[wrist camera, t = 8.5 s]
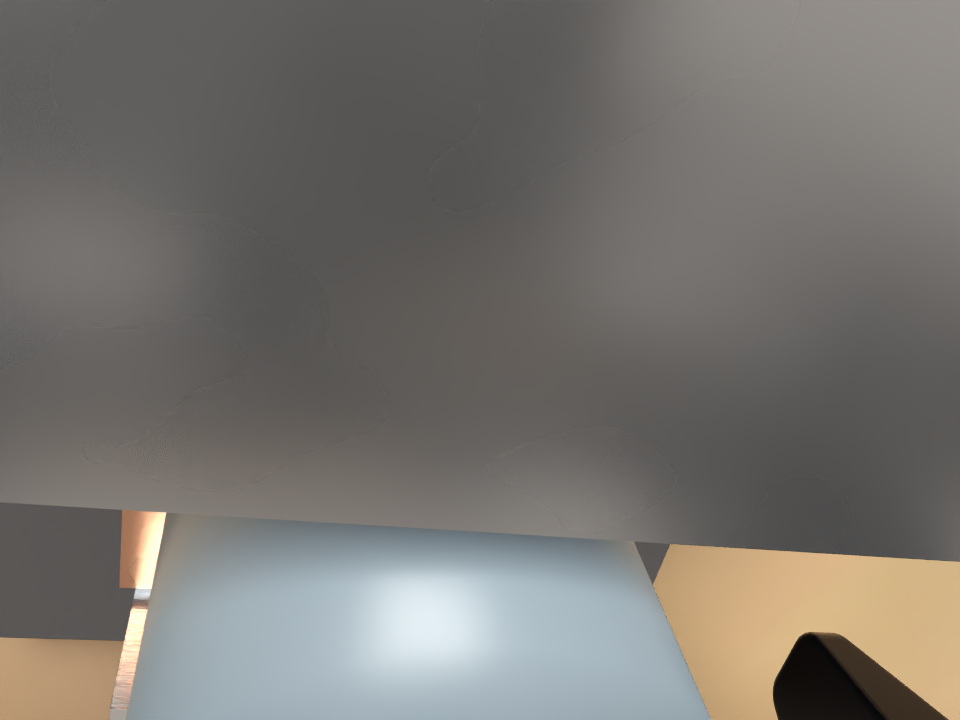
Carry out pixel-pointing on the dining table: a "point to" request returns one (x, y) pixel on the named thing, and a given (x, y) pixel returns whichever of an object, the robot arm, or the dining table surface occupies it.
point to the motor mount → (472, 279)
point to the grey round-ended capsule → (402, 627)
